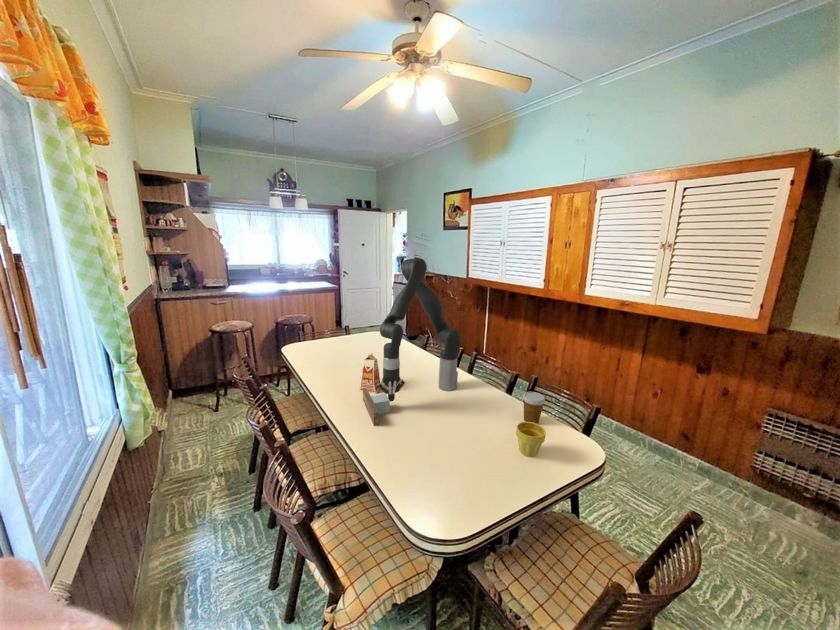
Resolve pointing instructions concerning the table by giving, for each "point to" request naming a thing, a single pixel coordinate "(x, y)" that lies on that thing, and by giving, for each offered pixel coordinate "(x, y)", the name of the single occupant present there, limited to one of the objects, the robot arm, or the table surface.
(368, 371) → the milk carton
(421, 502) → the table surface
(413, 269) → the robot arm
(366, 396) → the board
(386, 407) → the block
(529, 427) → the plant pot
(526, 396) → the disposable coffee cup
